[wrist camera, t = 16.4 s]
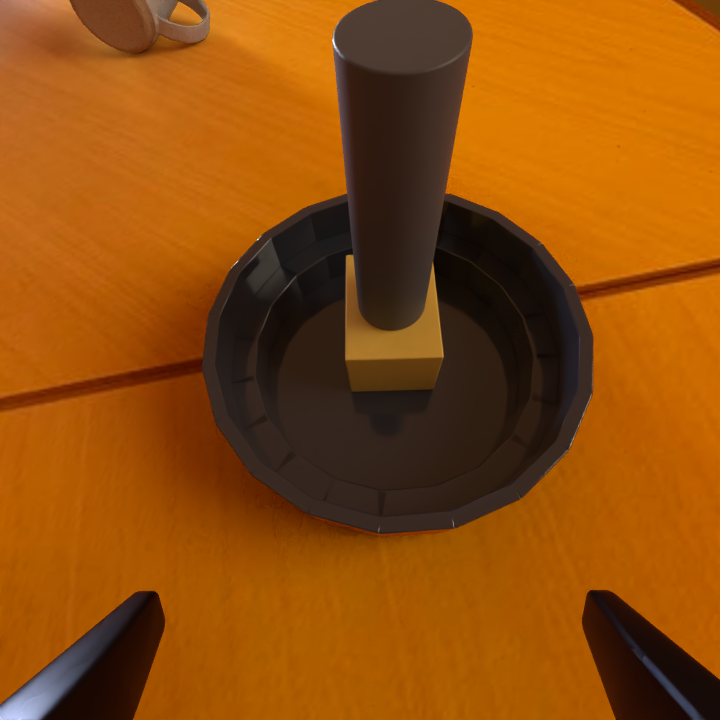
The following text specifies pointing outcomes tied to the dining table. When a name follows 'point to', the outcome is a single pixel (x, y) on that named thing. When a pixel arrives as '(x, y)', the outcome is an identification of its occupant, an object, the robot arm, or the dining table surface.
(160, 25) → the ceramic mug
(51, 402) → the dining table surface
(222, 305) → the bowl
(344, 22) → the peg on base
